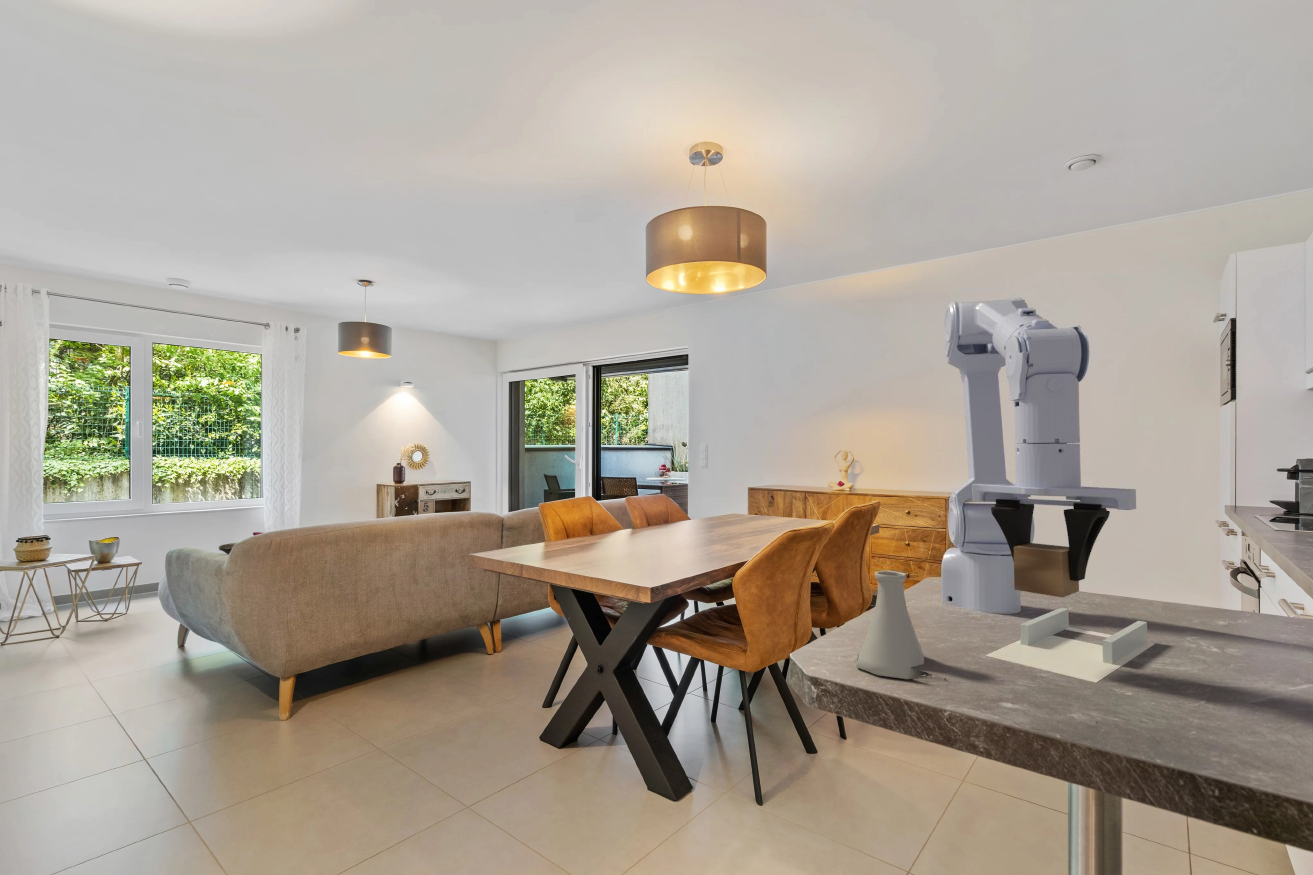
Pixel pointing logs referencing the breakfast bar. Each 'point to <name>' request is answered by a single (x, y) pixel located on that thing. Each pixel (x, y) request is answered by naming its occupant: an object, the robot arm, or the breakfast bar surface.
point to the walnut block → (1043, 570)
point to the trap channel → (1073, 648)
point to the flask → (891, 633)
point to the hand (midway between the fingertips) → (1049, 575)
